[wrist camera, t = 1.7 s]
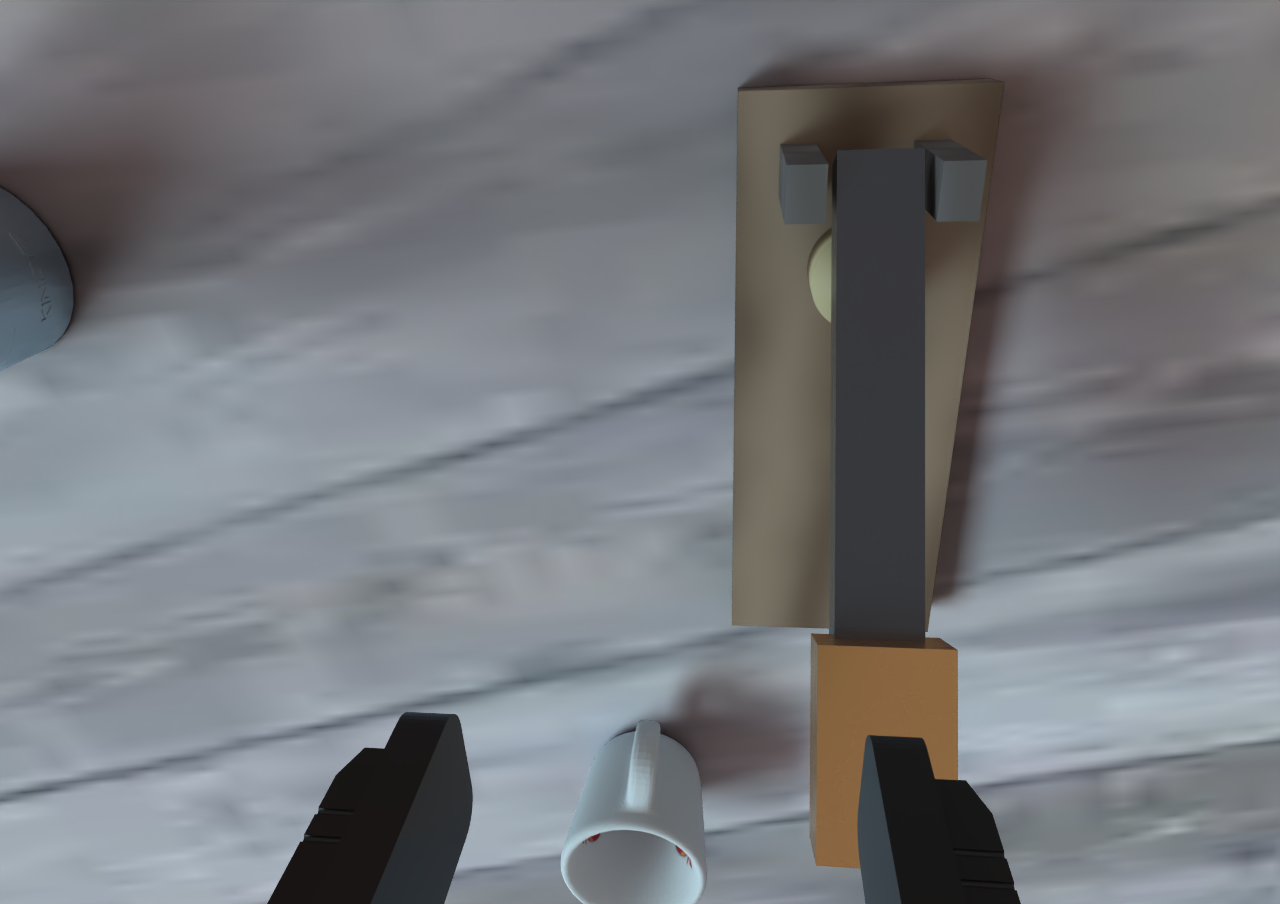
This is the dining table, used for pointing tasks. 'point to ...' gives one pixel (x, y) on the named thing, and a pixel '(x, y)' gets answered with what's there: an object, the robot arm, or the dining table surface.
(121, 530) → the dining table surface
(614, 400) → the dining table surface
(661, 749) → the cup
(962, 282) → the press base
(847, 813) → the press lever
